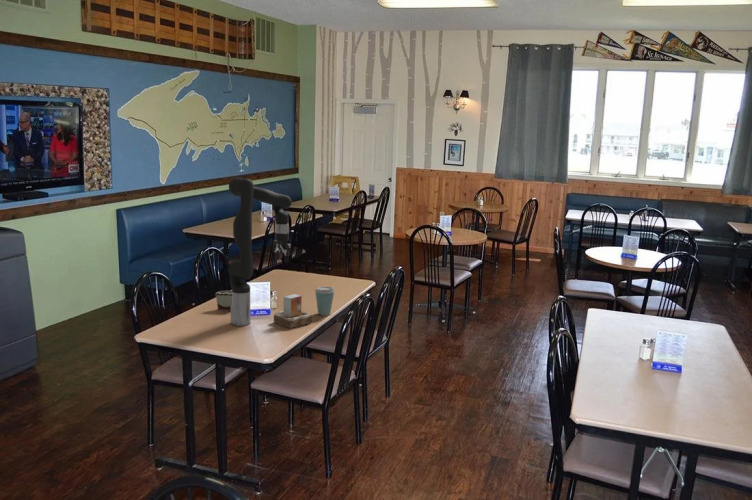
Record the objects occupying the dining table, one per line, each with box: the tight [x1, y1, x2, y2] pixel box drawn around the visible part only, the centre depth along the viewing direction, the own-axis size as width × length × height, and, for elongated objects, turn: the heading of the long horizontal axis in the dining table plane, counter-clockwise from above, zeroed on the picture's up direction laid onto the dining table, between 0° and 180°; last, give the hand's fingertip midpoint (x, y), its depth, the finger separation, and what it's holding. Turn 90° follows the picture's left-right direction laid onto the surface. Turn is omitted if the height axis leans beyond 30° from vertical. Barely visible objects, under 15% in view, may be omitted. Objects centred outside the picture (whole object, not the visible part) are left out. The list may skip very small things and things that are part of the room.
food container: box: [214, 290, 232, 312], centre depth 358 cm, size 12×6×10 cm, turn 84°
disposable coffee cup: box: [315, 286, 335, 316], centre depth 354 cm, size 11×11×15 cm
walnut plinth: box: [273, 310, 313, 329], centre depth 338 cm, size 14×14×5 cm
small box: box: [282, 293, 303, 318], centre depth 337 cm, size 8×6×10 cm
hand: (282, 260), depth 354 cm, fingers open, 8 cm apart
